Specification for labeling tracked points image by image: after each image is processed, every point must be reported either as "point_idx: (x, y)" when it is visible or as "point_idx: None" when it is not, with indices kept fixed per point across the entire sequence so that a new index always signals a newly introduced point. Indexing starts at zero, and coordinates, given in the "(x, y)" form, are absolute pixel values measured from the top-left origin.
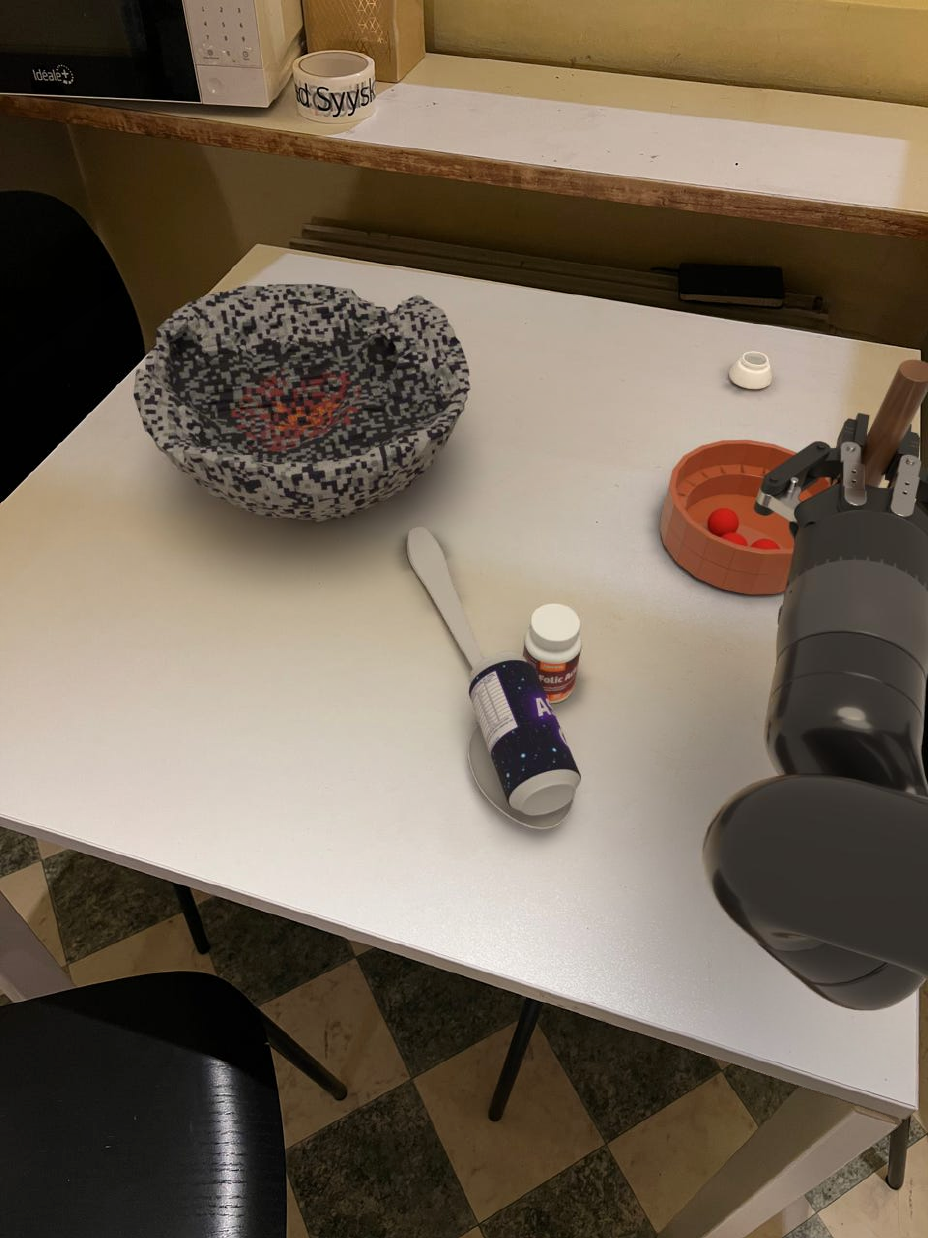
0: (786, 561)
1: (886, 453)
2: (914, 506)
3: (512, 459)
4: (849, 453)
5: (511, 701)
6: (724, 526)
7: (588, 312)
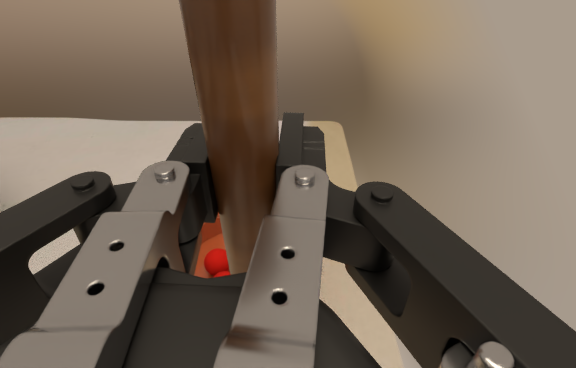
0: None
1: (251, 171)
2: (328, 336)
3: None
4: (153, 187)
5: None
6: (216, 266)
7: (139, 124)
